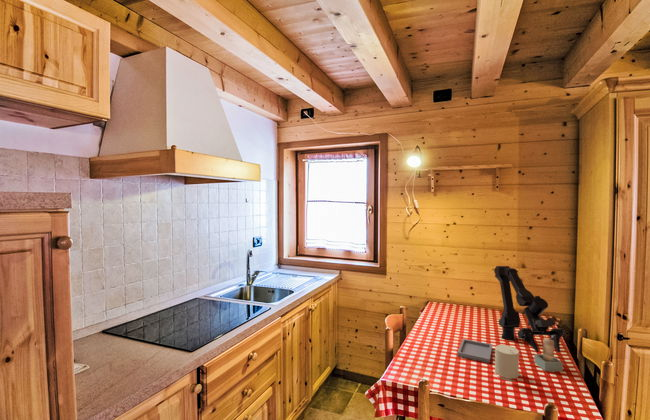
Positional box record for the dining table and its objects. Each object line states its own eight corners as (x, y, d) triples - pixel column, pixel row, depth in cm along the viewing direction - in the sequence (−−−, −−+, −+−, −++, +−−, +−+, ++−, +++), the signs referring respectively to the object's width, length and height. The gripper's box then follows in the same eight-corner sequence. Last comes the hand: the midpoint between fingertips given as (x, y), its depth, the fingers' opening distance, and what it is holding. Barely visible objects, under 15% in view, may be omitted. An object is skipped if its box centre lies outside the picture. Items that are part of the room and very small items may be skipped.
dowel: (542, 363, 151) (542, 337, 151) (553, 365, 149) (553, 339, 149) (543, 367, 148) (543, 341, 147) (553, 369, 146) (554, 343, 145)
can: (506, 382, 138) (506, 354, 137) (489, 371, 146) (490, 345, 146) (524, 379, 140) (524, 351, 140) (506, 368, 149) (507, 342, 149)
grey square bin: (534, 365, 152) (534, 354, 152) (551, 365, 152) (551, 354, 152) (544, 373, 145) (544, 362, 144) (562, 374, 144) (562, 362, 144)
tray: (462, 342, 176) (462, 338, 176) (492, 348, 169) (492, 344, 169) (457, 356, 161) (457, 352, 161) (489, 363, 154) (489, 359, 154)
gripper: (521, 310, 153) (535, 344, 142) (562, 311, 152) (579, 345, 142) (511, 321, 161) (524, 354, 150) (551, 321, 161) (566, 354, 150)
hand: (548, 352), depth 148 cm, fingers open, 9 cm apart
